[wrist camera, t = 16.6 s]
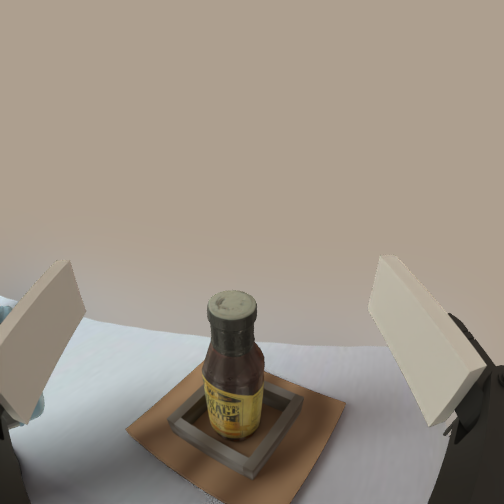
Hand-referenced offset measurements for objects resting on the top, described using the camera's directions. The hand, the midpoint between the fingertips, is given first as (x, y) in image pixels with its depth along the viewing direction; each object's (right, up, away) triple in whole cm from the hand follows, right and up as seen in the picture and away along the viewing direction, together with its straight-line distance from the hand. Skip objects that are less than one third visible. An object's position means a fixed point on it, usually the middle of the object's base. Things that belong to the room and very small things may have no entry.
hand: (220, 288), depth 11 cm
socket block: (-1, -22, +21) cm, 31 cm away
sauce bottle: (-1, -21, +21) cm, 29 cm away
